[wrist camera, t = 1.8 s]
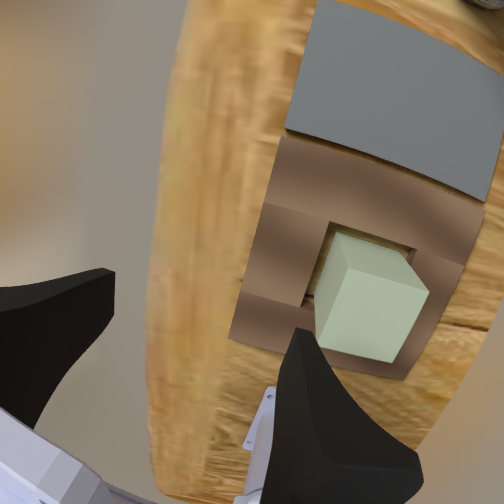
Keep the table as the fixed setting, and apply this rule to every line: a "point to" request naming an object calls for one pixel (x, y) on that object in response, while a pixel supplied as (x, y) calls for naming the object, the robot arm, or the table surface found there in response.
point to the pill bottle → (487, 4)
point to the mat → (399, 97)
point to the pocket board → (358, 217)
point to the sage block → (366, 299)
